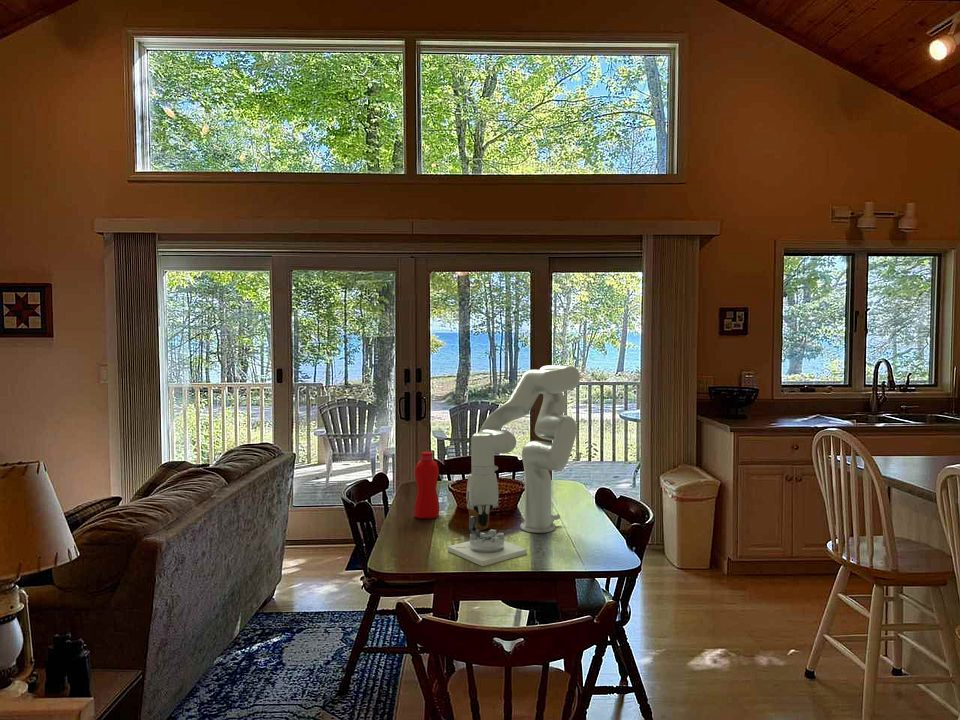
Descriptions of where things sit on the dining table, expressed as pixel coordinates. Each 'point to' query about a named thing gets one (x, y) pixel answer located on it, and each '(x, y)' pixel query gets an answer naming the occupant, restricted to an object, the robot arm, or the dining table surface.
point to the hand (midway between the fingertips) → (482, 525)
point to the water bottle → (426, 487)
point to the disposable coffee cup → (474, 513)
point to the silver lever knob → (484, 539)
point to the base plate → (487, 558)
